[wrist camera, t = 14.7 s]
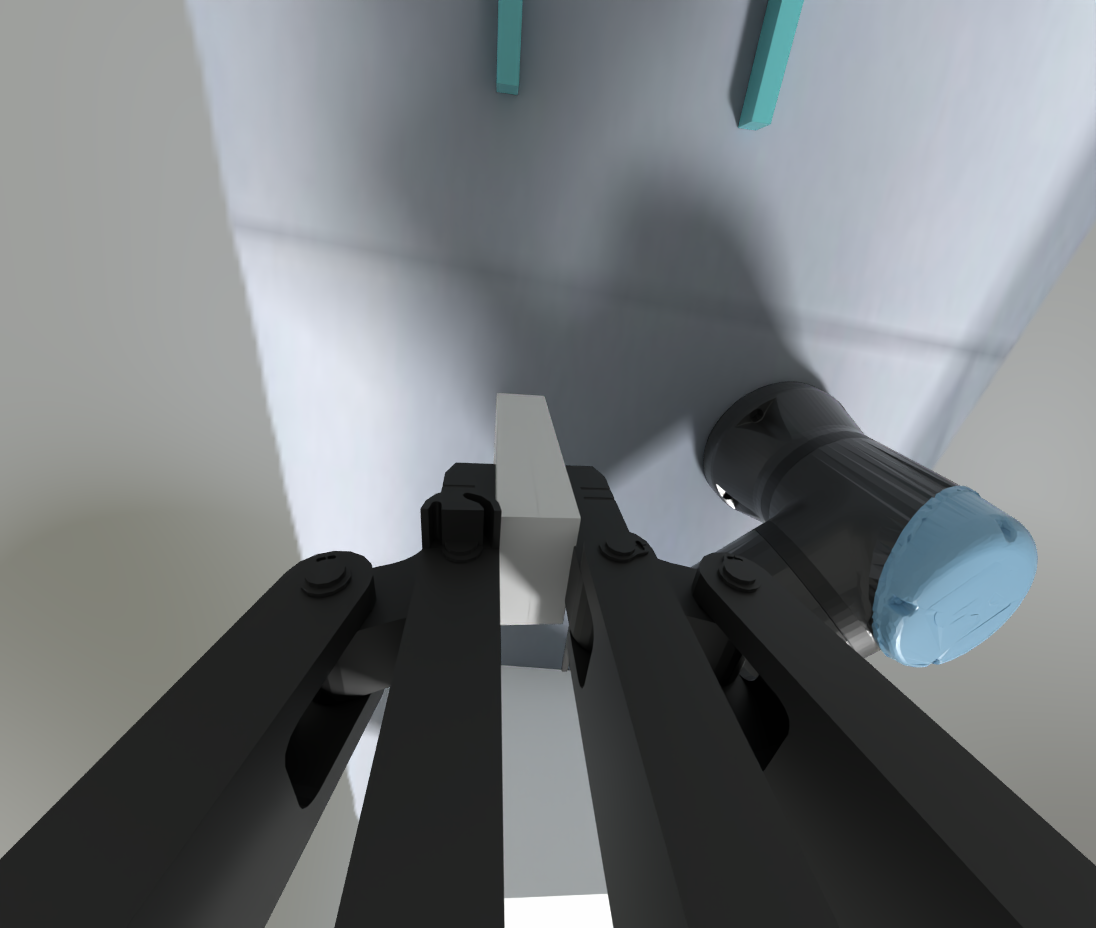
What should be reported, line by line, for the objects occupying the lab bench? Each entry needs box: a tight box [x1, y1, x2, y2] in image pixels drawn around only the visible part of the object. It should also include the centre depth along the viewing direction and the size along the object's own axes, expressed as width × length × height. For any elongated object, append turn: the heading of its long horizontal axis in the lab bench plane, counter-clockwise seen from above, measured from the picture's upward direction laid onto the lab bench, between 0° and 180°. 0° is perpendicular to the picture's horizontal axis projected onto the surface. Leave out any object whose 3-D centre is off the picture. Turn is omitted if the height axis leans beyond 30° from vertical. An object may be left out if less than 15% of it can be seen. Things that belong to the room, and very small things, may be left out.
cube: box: [501, 665, 613, 928], centre depth 57 cm, size 25×21×24 cm
